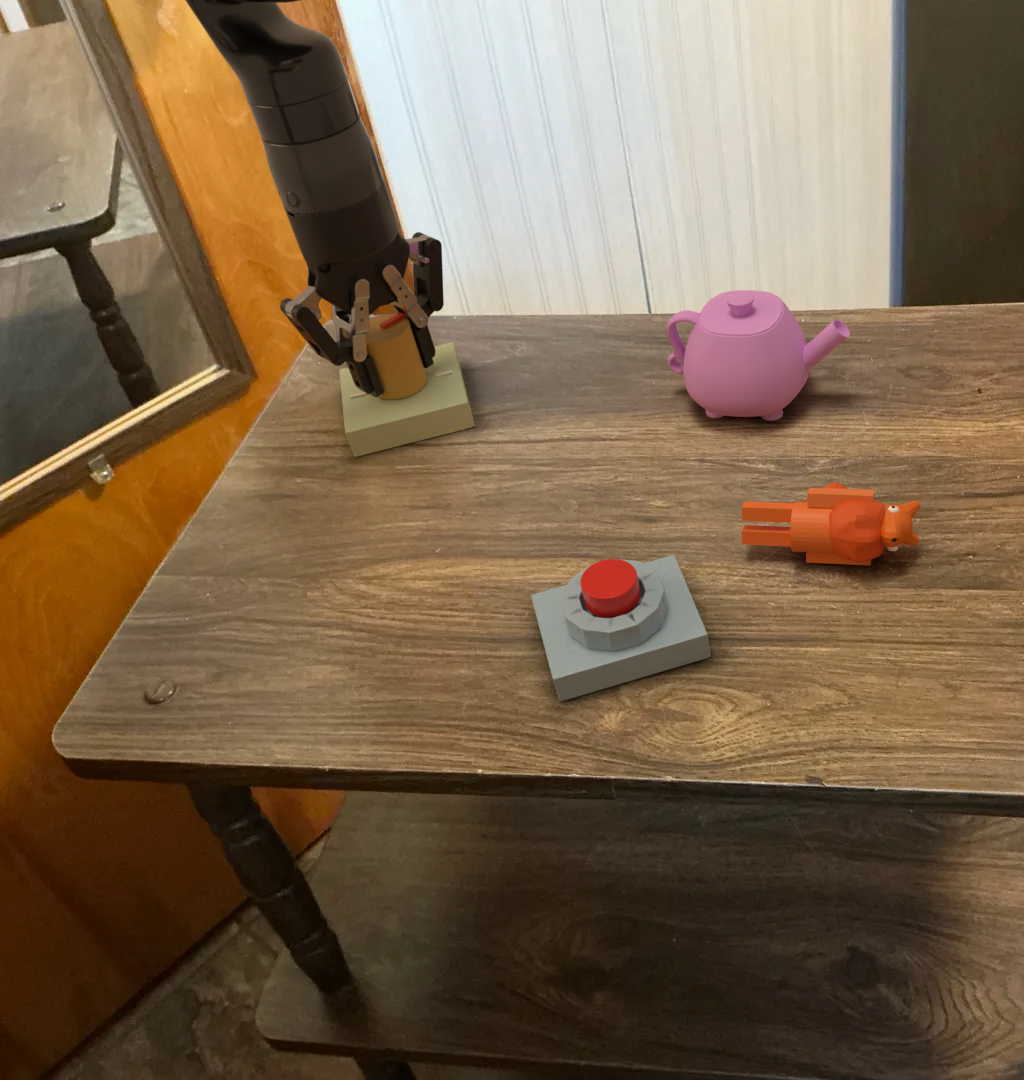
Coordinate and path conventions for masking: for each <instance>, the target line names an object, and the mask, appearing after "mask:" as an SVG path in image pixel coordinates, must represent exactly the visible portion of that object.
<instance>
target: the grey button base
mask: <svg viewBox="0 0 1024 1080" xmlns="http://www.w3.org/2000/svg"><path fill="white" fill-rule="evenodd" d="M619 559H620V560H624V561H626V562H628V563H630V564H631V565H632V566H633V567H634V568H635V570H636V572H637V576H638V581H639V586H640V591H641V597H640V600H639V602H638V604H637V605H636V606H635V608H633V609H632V610H631V611H630V612H628V613H626V614H624V615H621V616H617V617H612V618H605V617H599V616H597V615H594V614H593V613H591V612H590V611H589V610H588V609H587V607H586V605H585V601H584V597H583V593H582V589H581V585H580V581H581V577H582V575H583V573H584V572H585V570H586V569H587V568H589V567H590V566H591V565H592V564H589V565H588V566H586V567H585V568H583V569H581V571H579V572H578V573H576V574H575V575H574V576H572V577H571V578H570V579H569V580H568V581H567V584H564V585H560V586H557V587H553V588H550V589H547V590H543V591H539V592H534V593H532V594H531V595H530V597H531V601H532V606H533V609H534V613H535V617H536V620H537V624H538V629H539V632H540V637H541V640H542V643H543V647H544V648H543V649H544V651H545V655H546V659H547V663H548V666H549V670H550V674H551V678H552V682H553V685H554V688H555V692H556V696H557V698H558V701H559V702H564V701H568V700H572V699H575V698H578V697H581V696H584V695H585V696H586V695H587V694H592V693H595V692H598V691H601V690H606V689H608V688H611V687H615V686H619V685H622V684H625V683H628V682H631V681H635V680H638V679H642V678H646V677H649V676H653V675H656V674H658V673H662V672H666V671H668V670H672V669H675V668H679V667H682V666H686V665H689V664H692V663H696V662H700V661H703V660H706V659H709V658H710V659H711V657H712V653H711V647H710V641H709V633H708V632H707V629H706V627H705V625H704V622H703V619H702V617H701V614H700V613H699V610H698V607H697V605H696V603H695V600H694V599H693V595H692V593H691V591H690V588H689V586H688V583H687V581H686V579H685V576H684V574H683V572H682V568H681V566H680V564H679V562H678V559H677V557H676V555H675V554H671V555H668V556H664V557H661V558H657V559H654V560H650V561H646V562H642V561H640V560H634V559H624V558H623V559H622V558H619Z"/></svg>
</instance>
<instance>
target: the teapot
mask: <svg viewBox="0 0 1024 1080" xmlns="http://www.w3.org/2000/svg"><path fill="white" fill-rule="evenodd" d="M683 322H684V323H691V324H693V326H692V327H691V328H692V329H691V331H690V333H689V336H688V339H687V342H686V346H685V344H684V343H683V341H682V339H681V337H680V334H679V332H678V329H677V324H678V323H683ZM666 335H667V337H668V340H669V342H670V345H671V347H672V349H673V352H671V353H670V354H669V355H668V358H667V366H668V368H669V370H671V371H672V372H673V373H676V374H679V375H683V383H684V387H685V389H686V391H687V394H688V395H689V397H690V398H691V399H692V400H693V401H694V402H695V403H696V404H698V405H699V406H700V407H701V408H703V409H704V410H705V414H706V416H707V417H709V418H712V419H720V418H723V417H725V416H726V417H738V418H755V417H761V419H763V420H764V421H771V422H773V421H777V420H779V419H781V418H782V417H783V415H784V411H783V409H785V408H786V407H787V406H788V405H790V403H792V401H794V399H795V398H796V397H797V396H798V394H799V393H800V392H801V391H802V389H803V388H804V386H805V385H806V383H807V380H808V378H809V376H810V371H811V369H812V368H813V367H815V366H816V365H817V364H818V363H819V362H821V361H822V360H823V359H824V358H825V357H827V356H828V355H829V354H830V353H831V352H833V351H834V350H835V349H837V348H838V347H839V346H840V345H841V344H842V343H843V342H845V341H846V340H847V339H848V338H849V337H850V336H851V332H850V329H849V328H848V327H847V325H846V324H845V323H844V322H843V321H841V320H840V319H837V318H835V319H833V320H832V321H831V322H830V323H829V324H828V325H827V326H826V327H824V328H823V329H822V330H821V331H820V332H819V333H818V334H817V335H815V337H814V338H813V339H812V340H810V341H809V342H808V343H807V340H806V336H805V335H804V332H803V329H802V328H801V326H800V324H799V322H798V320H797V319H796V318H795V316H794V314H793V312H792V311H791V310H790V308H789V307H788V306H787V304H786V303H785V302H784V301H783V300H782V298H780V296H779V295H777V294H774V293H773V292H770V291H763V290H753V289H747V290H745V289H740V290H729V291H728V290H727V291H724V292H721V293H719V294H717V295H715V296H713V297H712V298H711V299H709V300H708V301H707V302H706V303H705V304H704V305H703V307H702V308H701V310H700V311H699V312H697V311H694V310H689V309H688V310H680V311H677V312H676V313H675V314H673V315H672V316H671V317H670V318H669V320H668V322H667V324H666ZM676 359H678V360H679V361H678V360H676Z"/></svg>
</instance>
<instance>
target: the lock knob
mask: <svg viewBox="0 0 1024 1080" xmlns="http://www.w3.org/2000/svg"><path fill="white" fill-rule="evenodd" d="M366 338H367V355H368V356H370V357H371V358H372V360H373V363H374V366H375V369H376V371H377V374H378V377H379V380H380V382H381V385H382V388H383V391H384V393H383V394H382V395H380V396H379V397H381V398H384V399H389V400H396V399H402V398H406V397H409V396H412V395H414V394H416V393H417V392H419V391H420V390H421V389H422V388H423V387H424V386H425V385H426V383H427V376H426V373H425V370H424V366H423V363H422V360H421V357H420V354H419V351H418V348H417V345H416V342H415V339H414V336H413V333H412V329H411V326H410V323H409V321H408V319H407V318H405V315H404V314H403V313H398V314H397V313H396V314H383V315H378V316H375V317H372V318H369V332H368V333H367V334H366Z"/></svg>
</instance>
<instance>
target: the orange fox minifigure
mask: <svg viewBox="0 0 1024 1080" xmlns="http://www.w3.org/2000/svg"><path fill="white" fill-rule="evenodd" d="M875 492H876V491H875V489H860V488H859V489H856V488H849V487H847V486H845V485H843V484H841V483H839V482H832V483H829V484H827V485H826V486H824V487H809V488H808V491H807V494H806V495H807V496H806V497H807V498H806V500H805V501H794V502H771V501H749V500H748V501H746V500H745V501H743V503H742V506H741V521H742V522H760V523H761V522H763V523H784V524H785V523H787V524H789V523H790V526H784V525H783V526H782V525H781V526H780V525H779V526H778V525H760V524H759V525H756V524H744V525H743V527H742V529H741V545H746V546H747V545H750V546H751V545H753V546H772V547H790V550H791V552H794V553H795V552H797V553H805V563H810V564H811V563H812V564H814V563H815V564H829V565H832V564H834V565H851V566H852V565H853V566H854V565H855V566H871V564H872V560H873V559H876V558H878V557H880V556H881V555H882V554H883V552H884V551H885V548H886V549H887V550H888V551H889V552H891V553H895V552H896V551H898V550H899V546H901V545H903V544H904V545H908V546H911V547H914V546H918V545H919V544H920V538H919V536H918V535H917V533H916V532H915V531H914V530H913V518H914V517H915V515H916V514H917V513H918V511H919V510H920V509H921V502H920V501H919V500H918V499H917V500H914V501H909V502H906V503H901V504H899V503H898V504H895V503H886V504H885V503H884V502H882V501H879V500H875Z"/></svg>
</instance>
